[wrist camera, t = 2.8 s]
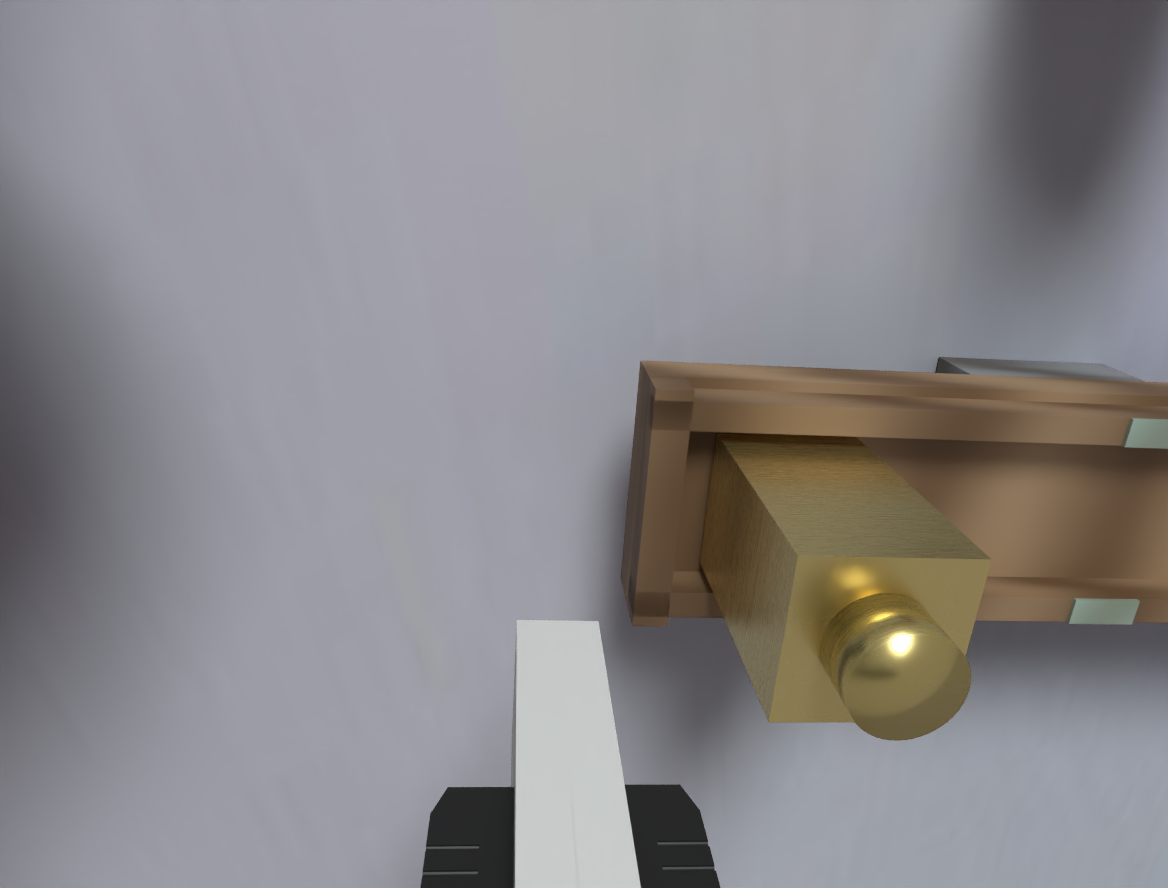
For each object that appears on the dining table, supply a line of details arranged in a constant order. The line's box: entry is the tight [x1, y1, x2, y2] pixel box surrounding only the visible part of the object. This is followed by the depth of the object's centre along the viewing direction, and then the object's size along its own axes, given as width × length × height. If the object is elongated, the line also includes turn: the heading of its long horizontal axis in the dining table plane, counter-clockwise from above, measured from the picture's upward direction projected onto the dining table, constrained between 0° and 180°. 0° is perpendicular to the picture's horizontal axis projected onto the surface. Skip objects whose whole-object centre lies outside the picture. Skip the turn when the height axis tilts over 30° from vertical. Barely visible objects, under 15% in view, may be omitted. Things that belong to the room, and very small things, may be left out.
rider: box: [700, 432, 992, 740], centre depth 20 cm, size 4×4×8 cm
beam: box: [621, 357, 1168, 626], centre depth 27 cm, size 28×7×7 cm, turn 86°
